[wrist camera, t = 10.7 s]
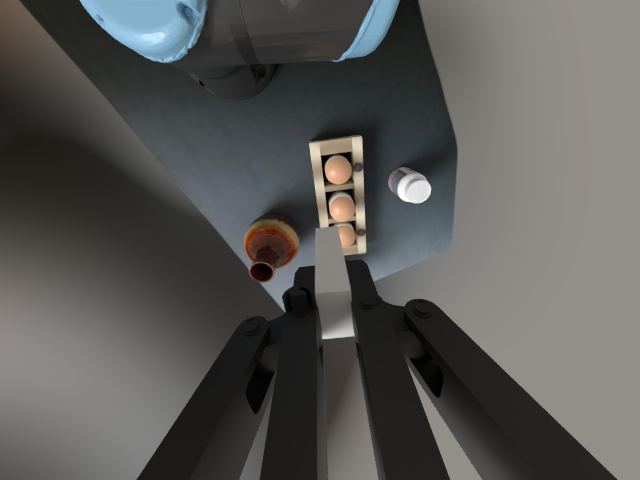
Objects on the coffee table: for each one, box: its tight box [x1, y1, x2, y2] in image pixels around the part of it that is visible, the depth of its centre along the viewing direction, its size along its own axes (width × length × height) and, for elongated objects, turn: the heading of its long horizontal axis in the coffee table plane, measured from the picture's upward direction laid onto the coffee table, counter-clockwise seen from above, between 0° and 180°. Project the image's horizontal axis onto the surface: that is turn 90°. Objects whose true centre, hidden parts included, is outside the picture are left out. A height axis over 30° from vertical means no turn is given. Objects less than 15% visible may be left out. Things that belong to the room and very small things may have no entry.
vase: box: [244, 214, 300, 282], centre depth 44 cm, size 11×11×15 cm
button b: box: [329, 191, 355, 222], centre depth 43 cm, size 5×5×4 cm
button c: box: [332, 221, 356, 247], centre depth 48 cm, size 5×5×4 cm
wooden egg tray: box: [309, 135, 366, 255], centre depth 46 cm, size 23×9×4 cm, turn 7°
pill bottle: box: [388, 167, 431, 203], centre depth 42 cm, size 5×5×9 cm
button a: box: [325, 154, 352, 184], centre depth 42 cm, size 5×5×4 cm
